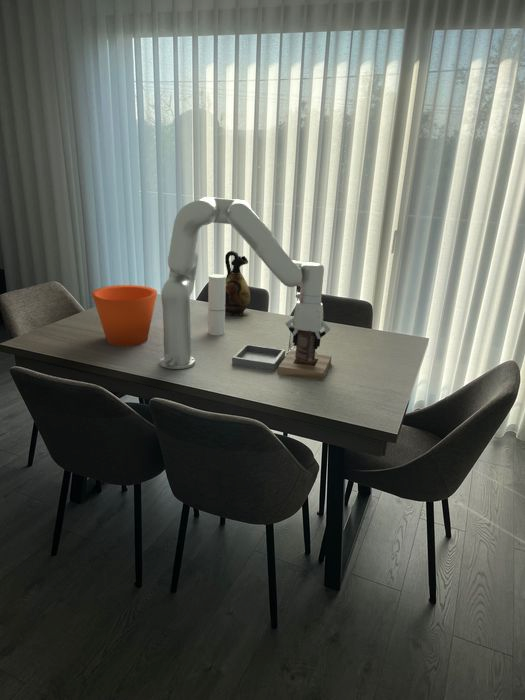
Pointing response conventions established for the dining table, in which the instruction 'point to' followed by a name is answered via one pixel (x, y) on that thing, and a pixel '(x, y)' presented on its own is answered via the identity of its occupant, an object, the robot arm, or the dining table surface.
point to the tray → (258, 357)
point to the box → (305, 345)
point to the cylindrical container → (216, 304)
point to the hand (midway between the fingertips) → (305, 346)
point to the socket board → (305, 366)
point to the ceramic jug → (236, 286)
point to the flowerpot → (125, 313)
